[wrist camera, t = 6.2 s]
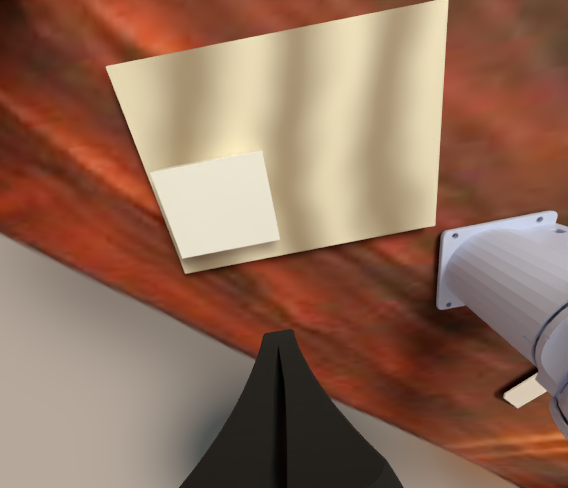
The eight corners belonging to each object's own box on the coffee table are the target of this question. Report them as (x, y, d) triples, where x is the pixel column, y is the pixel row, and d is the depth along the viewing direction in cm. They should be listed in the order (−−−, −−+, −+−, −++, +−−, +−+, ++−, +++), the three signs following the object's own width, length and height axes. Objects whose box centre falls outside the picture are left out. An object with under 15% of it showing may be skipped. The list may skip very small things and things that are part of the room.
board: (437, 5, 16) (448, -3, 15) (427, 221, 22) (435, 225, 21) (114, 70, 16) (105, 66, 15) (188, 267, 22) (185, 273, 21)
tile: (262, 150, 16) (149, 172, 16) (280, 239, 19) (182, 258, 19) (262, 148, 18) (159, 169, 18) (278, 231, 20) (188, 249, 20)
